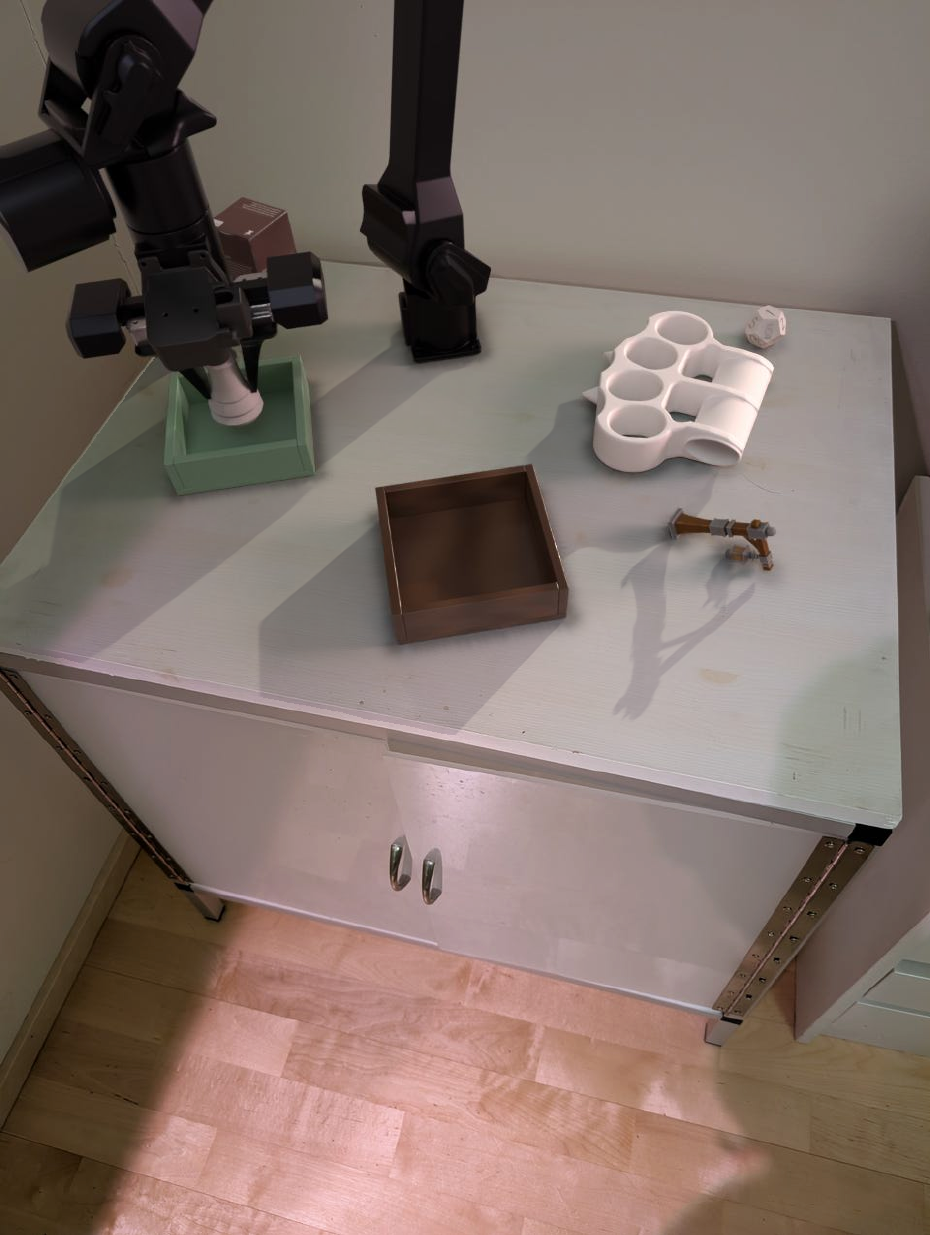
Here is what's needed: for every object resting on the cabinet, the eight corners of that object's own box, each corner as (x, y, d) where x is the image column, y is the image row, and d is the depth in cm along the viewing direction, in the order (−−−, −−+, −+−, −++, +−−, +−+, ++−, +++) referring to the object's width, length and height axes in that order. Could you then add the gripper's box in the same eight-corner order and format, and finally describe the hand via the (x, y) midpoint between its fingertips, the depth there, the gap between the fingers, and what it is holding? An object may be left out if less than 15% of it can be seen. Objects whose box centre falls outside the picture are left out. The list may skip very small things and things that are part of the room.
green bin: (308, 386, 77) (300, 354, 74) (315, 475, 71) (306, 443, 68) (182, 405, 77) (169, 373, 74) (177, 495, 70) (162, 464, 67)
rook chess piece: (254, 432, 70) (226, 352, 63) (204, 427, 70) (172, 347, 64) (272, 396, 72) (247, 316, 65) (223, 392, 73) (194, 312, 66)
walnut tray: (532, 495, 68) (532, 463, 65) (566, 617, 61) (569, 588, 58) (381, 518, 67) (374, 487, 64) (398, 644, 60) (392, 616, 57)
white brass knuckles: (725, 501, 66) (553, 453, 71) (776, 364, 76) (621, 329, 80) (734, 470, 64) (554, 423, 68) (786, 332, 73) (625, 298, 77)
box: (305, 278, 87) (289, 210, 81) (267, 309, 84) (248, 240, 78) (260, 262, 89) (242, 195, 83) (223, 292, 87) (201, 224, 81)
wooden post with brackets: (778, 578, 61) (768, 530, 58) (679, 563, 66) (666, 519, 63) (788, 562, 61) (779, 514, 59) (690, 549, 67) (677, 504, 64)
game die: (760, 358, 76) (768, 330, 74) (733, 336, 78) (740, 308, 76) (790, 345, 77) (799, 316, 75) (763, 324, 79) (771, 296, 77)
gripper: (9, 300, 52) (110, 478, 65) (309, 258, 53) (350, 442, 65) (34, 206, 58) (122, 385, 71) (301, 170, 59) (340, 353, 72)
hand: (231, 393), depth 70 cm, fingers closed on rook chess piece, 3 cm apart
